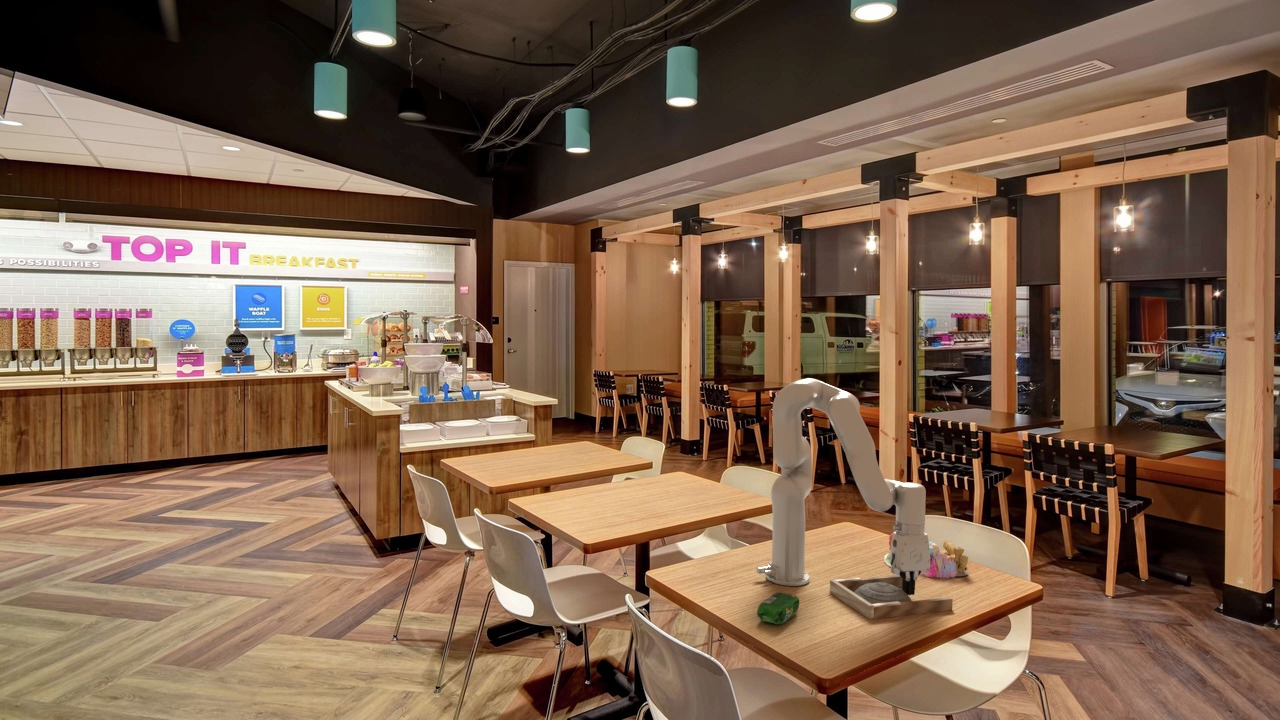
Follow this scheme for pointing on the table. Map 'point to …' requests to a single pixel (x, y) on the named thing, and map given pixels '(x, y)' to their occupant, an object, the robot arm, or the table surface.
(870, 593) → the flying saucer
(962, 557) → the candy landscape model
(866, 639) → the table surface
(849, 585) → the bay
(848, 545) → the table surface
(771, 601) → the snack package
